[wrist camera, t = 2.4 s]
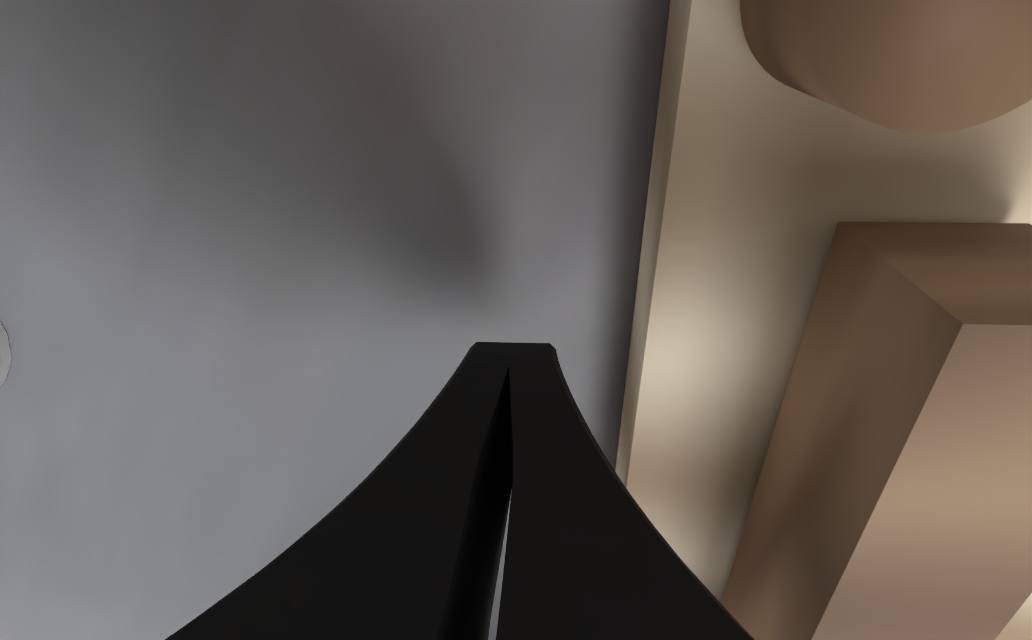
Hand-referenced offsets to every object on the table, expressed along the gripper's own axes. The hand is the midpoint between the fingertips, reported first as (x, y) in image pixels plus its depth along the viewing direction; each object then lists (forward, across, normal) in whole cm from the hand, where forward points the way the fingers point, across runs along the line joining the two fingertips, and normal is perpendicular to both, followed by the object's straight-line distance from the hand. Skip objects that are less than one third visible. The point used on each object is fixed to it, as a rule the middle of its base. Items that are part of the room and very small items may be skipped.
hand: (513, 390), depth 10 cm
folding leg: (+1, -6, +3) cm, 7 cm away
